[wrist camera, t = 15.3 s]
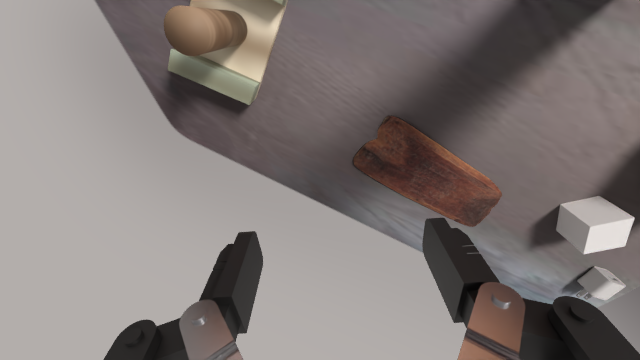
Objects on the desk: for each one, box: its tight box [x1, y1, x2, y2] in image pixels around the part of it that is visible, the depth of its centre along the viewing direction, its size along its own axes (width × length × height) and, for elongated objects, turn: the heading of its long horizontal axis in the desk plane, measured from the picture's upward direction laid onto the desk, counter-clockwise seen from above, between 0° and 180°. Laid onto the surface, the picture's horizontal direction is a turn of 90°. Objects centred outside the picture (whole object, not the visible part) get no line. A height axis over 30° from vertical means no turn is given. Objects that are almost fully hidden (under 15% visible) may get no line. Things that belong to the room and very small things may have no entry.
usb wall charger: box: [576, 266, 625, 300], centre depth 54 cm, size 4×7×4 cm, turn 161°
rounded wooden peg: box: [164, 6, 247, 56], centre depth 27 cm, size 4×4×12 cm
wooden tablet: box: [353, 116, 502, 227], centre depth 43 cm, size 26×2×10 cm
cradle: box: [168, 0, 288, 105], centre depth 31 cm, size 14×10×4 cm
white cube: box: [556, 196, 634, 254], centre depth 44 cm, size 6×6×6 cm
